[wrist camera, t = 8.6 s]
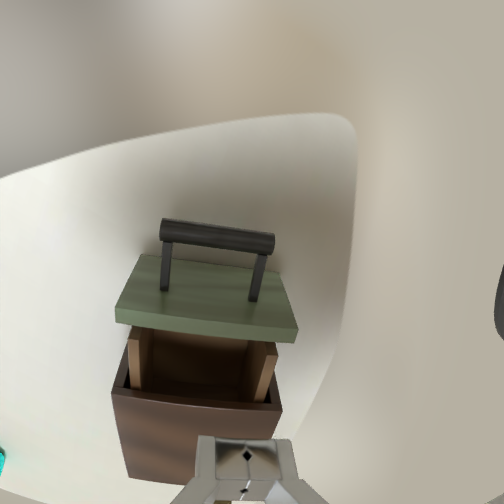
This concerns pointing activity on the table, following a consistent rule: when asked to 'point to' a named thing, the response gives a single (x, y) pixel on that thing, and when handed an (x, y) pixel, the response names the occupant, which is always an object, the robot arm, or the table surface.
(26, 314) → the table surface
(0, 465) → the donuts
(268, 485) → the robot arm
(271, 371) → the drawer
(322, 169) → the table surface
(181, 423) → the cabinet
